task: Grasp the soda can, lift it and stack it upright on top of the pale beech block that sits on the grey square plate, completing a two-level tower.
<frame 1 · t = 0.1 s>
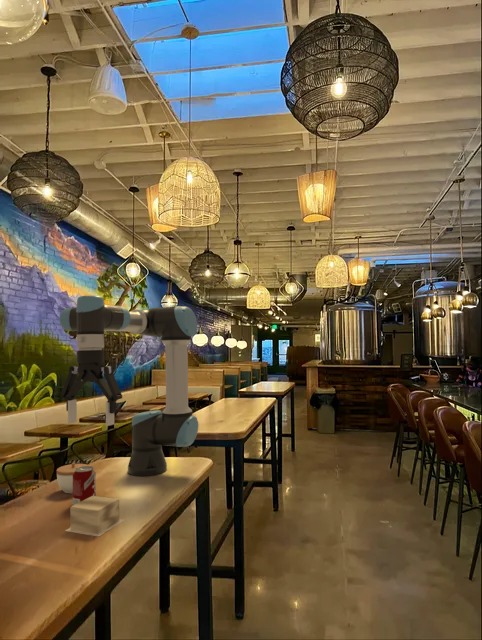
hand: (90, 423, 126), 28 cm above the table, fingers open, 13 cm apart
lidded jar: (73, 490, 153), on the table
soda can: (84, 508, 137), on the table
beech block: (95, 525, 121), point 1 cm above the table, touching grey square plate
grey square plate: (91, 526, 122), on the table
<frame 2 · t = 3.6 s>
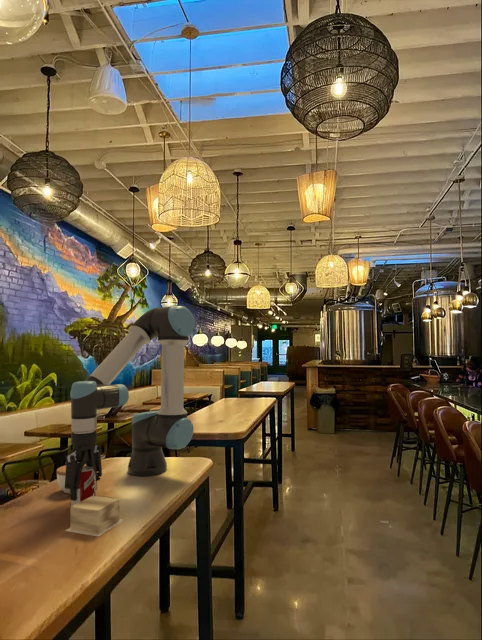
hand: (84, 505, 137), 1 cm above the table, fingers closed on soda can, 7 cm apart
soda can: (84, 508, 137), on the table, touching gripper
everything else where it was.
when the fingers open (9 cm above the table, at t = 7.6 s): soda can drops 2 cm, resting on beech block.
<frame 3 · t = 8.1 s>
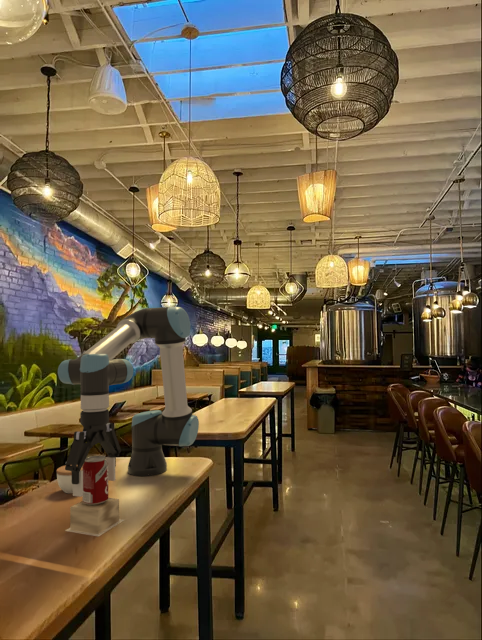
hand: (95, 487, 121), 11 cm above the table, fingers open, 13 cm apart
soda can: (95, 503, 121), point 7 cm above the table, touching beech block
beech block: (95, 525, 121), point 1 cm above the table, touching grey square plate, soda can
everything else where it was.
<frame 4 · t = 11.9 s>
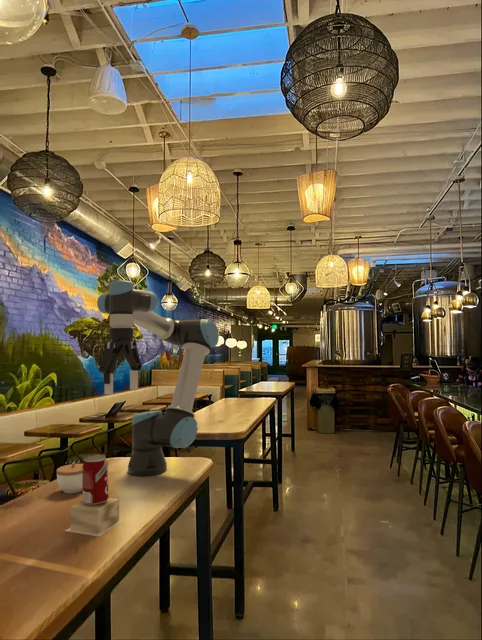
hand: (121, 391, 145), 35 cm above the table, fingers open, 13 cm apart
nothing on the table moved.
at the end: soda can 0.2 cm from the beech block (horizontally); soda can point 6.9 cm above the table; soda can tilted 0° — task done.
